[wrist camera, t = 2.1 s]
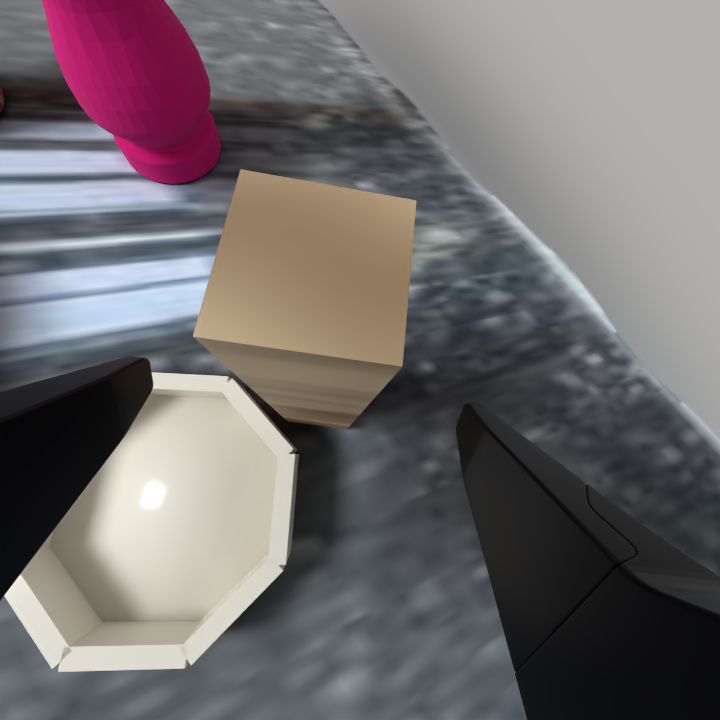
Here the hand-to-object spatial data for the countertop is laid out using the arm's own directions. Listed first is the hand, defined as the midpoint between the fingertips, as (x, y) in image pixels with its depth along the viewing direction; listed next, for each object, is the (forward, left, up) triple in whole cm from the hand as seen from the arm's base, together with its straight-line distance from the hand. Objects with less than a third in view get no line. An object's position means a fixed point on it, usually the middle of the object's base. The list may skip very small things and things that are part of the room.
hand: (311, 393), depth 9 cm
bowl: (+2, +8, -10) cm, 13 cm away
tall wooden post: (+1, -1, -10) cm, 10 cm away
